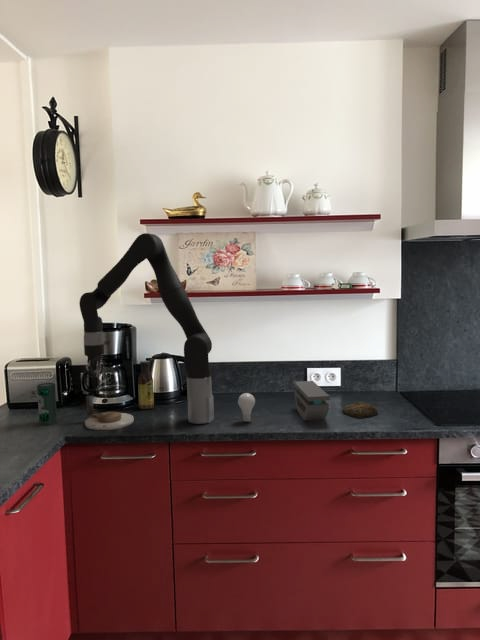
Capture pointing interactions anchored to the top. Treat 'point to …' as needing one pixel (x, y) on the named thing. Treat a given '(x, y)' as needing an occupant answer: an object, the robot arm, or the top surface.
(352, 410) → the bread roll
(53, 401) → the green patterned block
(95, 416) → the brown disc with handle
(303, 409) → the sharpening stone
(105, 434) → the top surface
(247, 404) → the lightbulb
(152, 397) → the sauce bottle
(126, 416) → the dial base
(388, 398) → the top surface
